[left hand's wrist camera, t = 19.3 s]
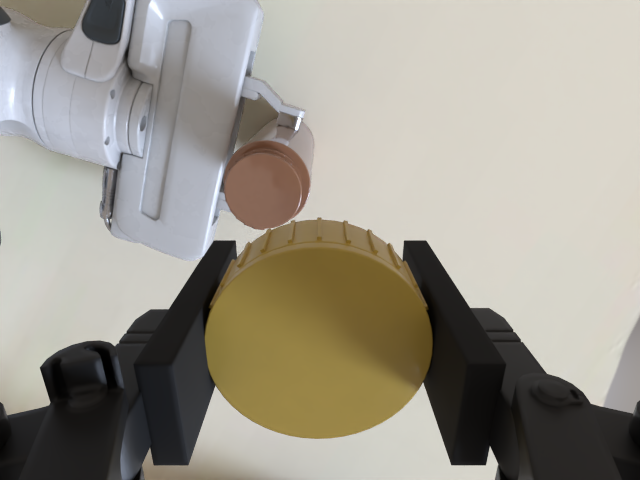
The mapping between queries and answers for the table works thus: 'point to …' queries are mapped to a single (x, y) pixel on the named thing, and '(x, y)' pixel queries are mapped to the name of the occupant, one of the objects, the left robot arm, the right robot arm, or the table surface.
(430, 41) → the table surface
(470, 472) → the table surface
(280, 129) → the jar
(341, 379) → the lid
